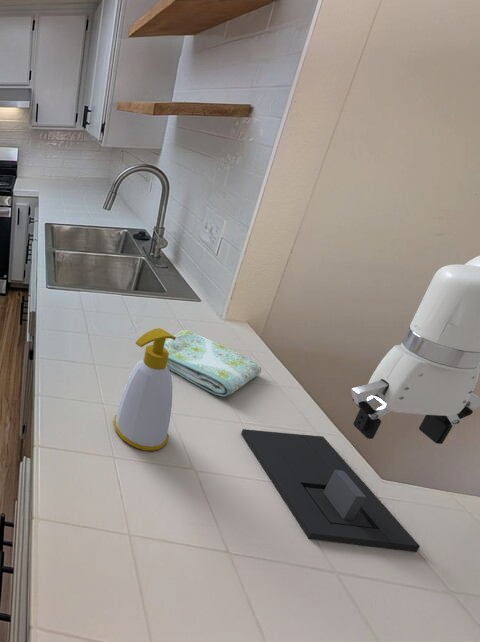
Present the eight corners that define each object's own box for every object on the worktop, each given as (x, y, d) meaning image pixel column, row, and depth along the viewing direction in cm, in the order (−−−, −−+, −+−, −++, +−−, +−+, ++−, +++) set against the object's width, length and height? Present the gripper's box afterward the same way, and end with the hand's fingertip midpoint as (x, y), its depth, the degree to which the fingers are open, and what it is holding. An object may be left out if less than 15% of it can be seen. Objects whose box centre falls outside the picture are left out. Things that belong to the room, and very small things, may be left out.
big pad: (320, 441, 83) (323, 436, 82) (416, 552, 63) (420, 546, 62) (240, 434, 85) (242, 429, 84) (308, 539, 65) (311, 533, 64)
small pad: (341, 494, 72) (356, 468, 69) (371, 531, 66) (388, 503, 63) (303, 490, 72) (315, 464, 70) (328, 526, 66) (343, 498, 64)
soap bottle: (101, 421, 88) (117, 324, 78) (138, 406, 92) (158, 312, 82) (139, 460, 79) (163, 355, 69) (179, 441, 83) (207, 340, 73)
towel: (182, 338, 118) (185, 324, 116) (260, 376, 102) (266, 361, 100) (146, 358, 109) (149, 343, 107) (225, 404, 93) (231, 387, 91)
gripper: (482, 335, 59) (433, 420, 65) (355, 330, 61) (320, 413, 67) (543, 367, 52) (482, 458, 58) (398, 360, 54) (354, 449, 60)
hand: (395, 434), depth 63 cm, fingers open, 9 cm apart
